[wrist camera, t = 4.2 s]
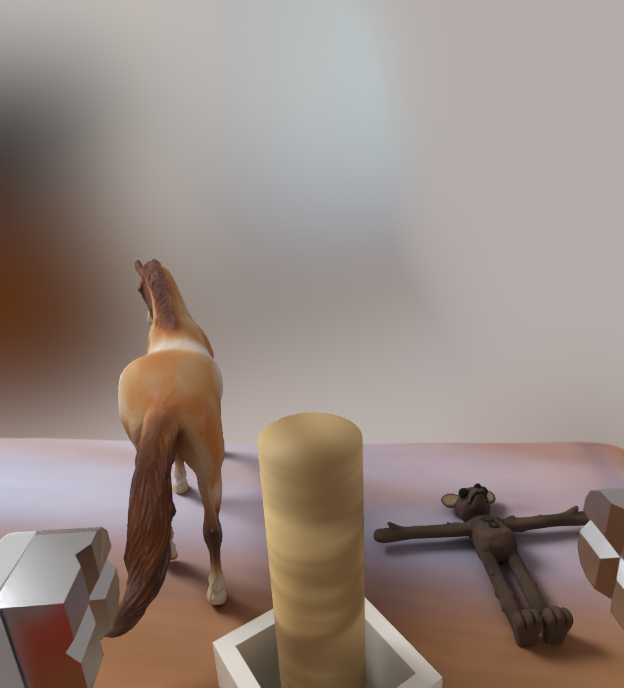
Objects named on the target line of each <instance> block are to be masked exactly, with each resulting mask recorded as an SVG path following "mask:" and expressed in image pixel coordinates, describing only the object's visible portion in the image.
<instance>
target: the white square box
mask: <svg viewBox="0 0 624 688" xmlns="http://www.w3.org/2000/svg"><path fill="white" fill-rule="evenodd" d="M213 649H214V656H215V662H216V669H217V675H218V682H219V688H281V681H280V671H279V661H278V650H277V640H276V630H275V620H274V609H272V610H270V611H268V612H266V613H264V614H263V615H261V616H259V617H257V618H255V619H254V620H252V621H250V622H248V623H246V624H245V625H243V626H241V627H239V628H237V629H236V630H234V631H232V632H230V633H229V634H227V635H225V636H223V637H221V638H220V639H218V640H216V641H214V642H213ZM365 659H366V688H442V678H443V677H442V676H441V675H440V674H439V673H438V672H437V671H436V670H435V669H434V668H433V667H432V666H431V665H430V664H429V663H428V662H427V661H426V660H425V659H424V658H423V657H422V656H421V655H420V654H419V653H418V652H417V651H416V650H415V648H414V647H413V646H412V645H411V644H410V643H409V642H408V641H407V640H406V639H405V638H404V637H403V636H402V635H401V634H400V633H399V632H398V631H397V630H396V629H395V628H394V627H393V626H392V625H391V624H390V623H389V622H388V621H387V620H386V619H385V617H384V616H383V615H382V614H381V613H380V612H379V611H378V610H377V609H376V608H375V607H374V606H373V605H372V604H371V603H370V602H369V601H368V600H367V599H366V598H365Z"/></svg>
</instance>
